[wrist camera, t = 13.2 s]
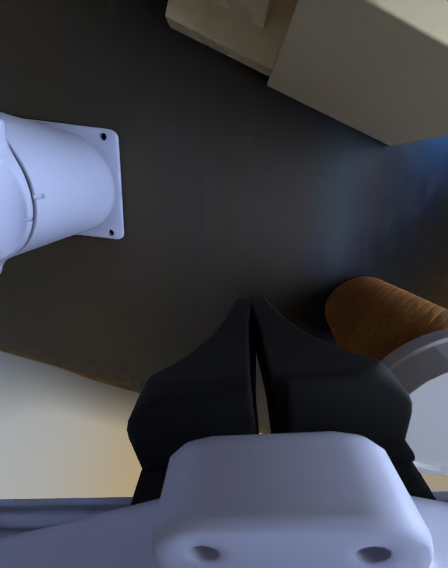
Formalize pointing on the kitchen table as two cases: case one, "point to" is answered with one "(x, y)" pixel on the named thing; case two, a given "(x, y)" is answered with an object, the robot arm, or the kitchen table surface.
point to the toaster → (370, 65)
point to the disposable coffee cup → (401, 355)
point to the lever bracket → (235, 27)
